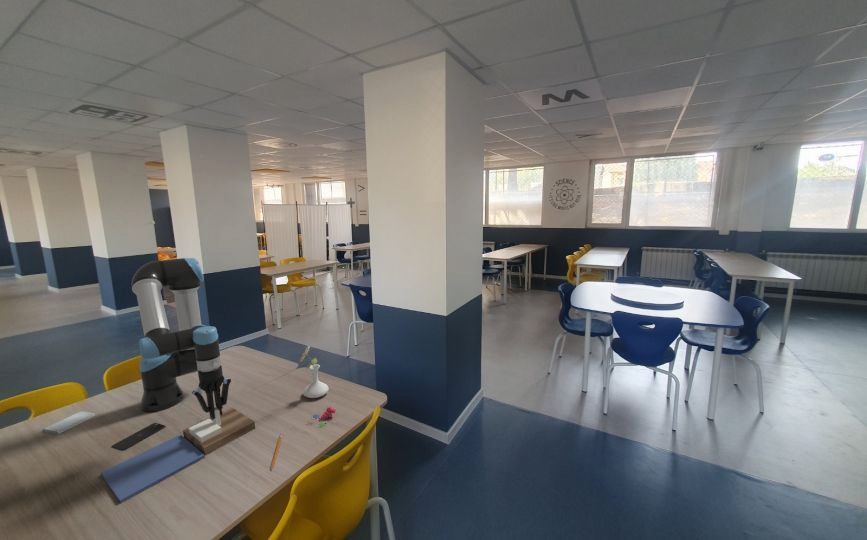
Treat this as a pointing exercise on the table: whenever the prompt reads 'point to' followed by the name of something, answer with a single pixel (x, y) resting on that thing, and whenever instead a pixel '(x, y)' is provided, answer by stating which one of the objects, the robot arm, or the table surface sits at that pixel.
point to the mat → (151, 467)
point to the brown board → (223, 431)
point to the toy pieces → (325, 415)
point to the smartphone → (138, 436)
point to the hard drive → (68, 422)
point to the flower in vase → (314, 379)
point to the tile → (205, 430)
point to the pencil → (276, 451)
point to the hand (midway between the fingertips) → (217, 424)
